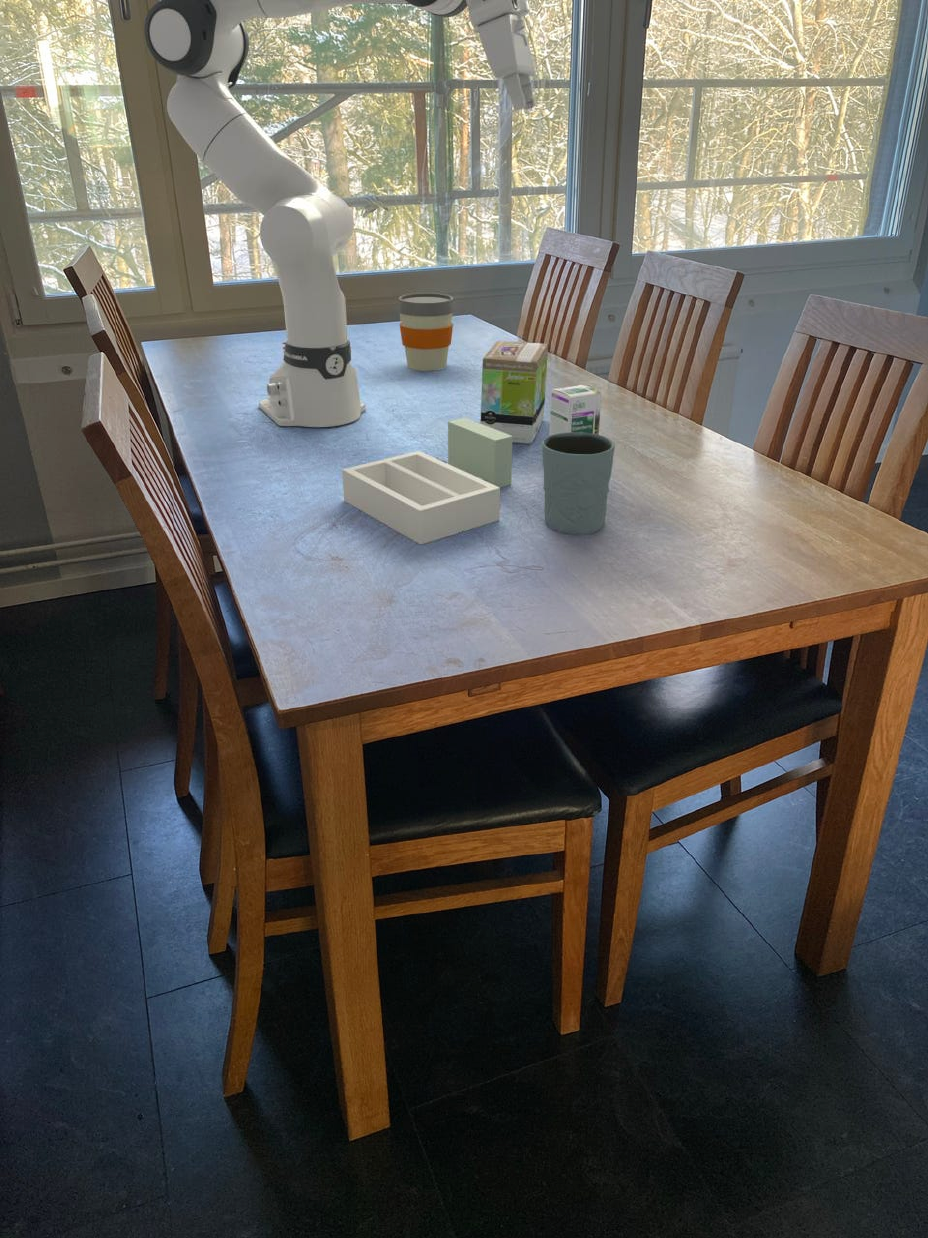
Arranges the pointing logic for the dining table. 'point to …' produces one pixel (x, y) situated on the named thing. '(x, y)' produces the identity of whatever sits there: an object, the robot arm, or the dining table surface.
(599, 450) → the gray green embossed cup
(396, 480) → the divided cream tray
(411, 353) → the reusable coffee cup
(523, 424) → the tea box
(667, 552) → the dining table surface
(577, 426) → the syrup box
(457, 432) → the long pale green block
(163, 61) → the robot arm
